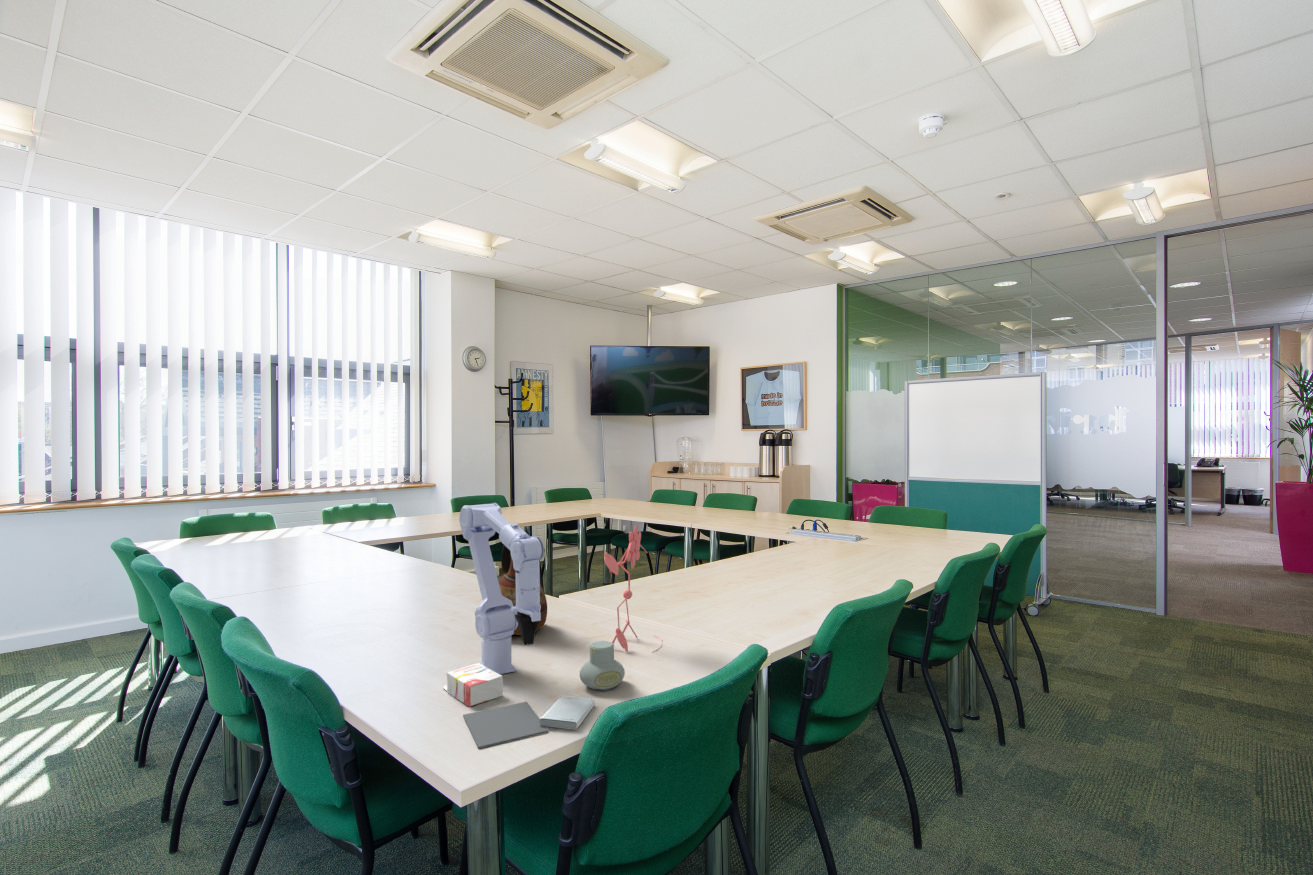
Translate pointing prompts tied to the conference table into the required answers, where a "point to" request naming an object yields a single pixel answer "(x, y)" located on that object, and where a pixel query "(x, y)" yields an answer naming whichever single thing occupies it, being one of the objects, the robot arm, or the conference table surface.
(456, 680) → the ink cartridge box
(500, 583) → the ceramic pitcher
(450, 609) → the conference table surface
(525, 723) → the mat
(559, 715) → the hard drive
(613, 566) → the pink thin stick figure
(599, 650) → the air freshener
